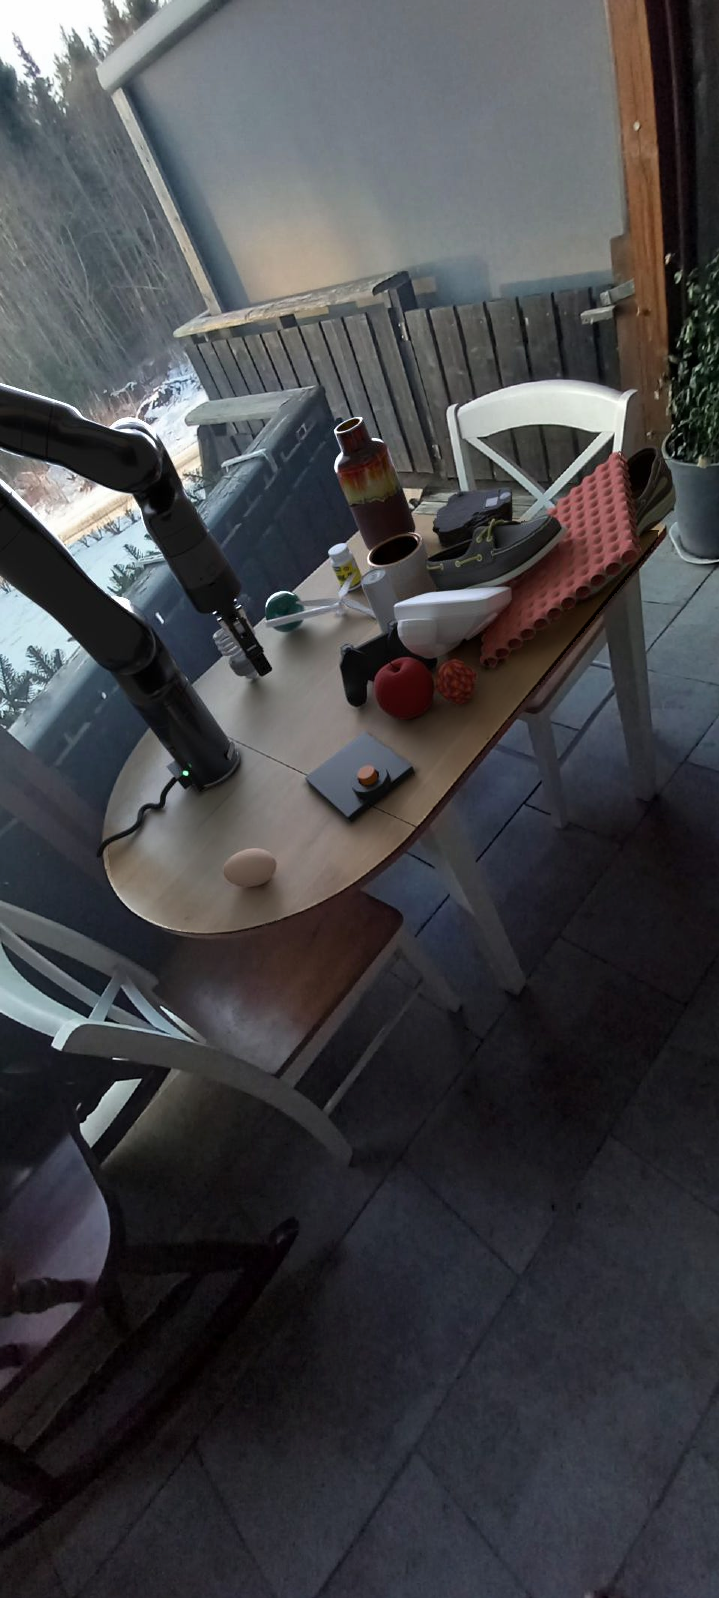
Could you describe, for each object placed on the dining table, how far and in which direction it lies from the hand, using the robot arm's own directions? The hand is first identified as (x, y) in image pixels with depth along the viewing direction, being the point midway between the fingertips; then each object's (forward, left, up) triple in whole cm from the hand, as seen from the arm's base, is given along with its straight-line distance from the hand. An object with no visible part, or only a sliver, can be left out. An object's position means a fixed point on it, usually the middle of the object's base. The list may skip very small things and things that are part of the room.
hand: (258, 661), depth 113 cm
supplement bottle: (+32, +32, -17) cm, 48 cm away
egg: (-17, -23, -14) cm, 32 cm away
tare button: (+1, -21, -14) cm, 25 cm away
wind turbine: (+10, +27, -10) cm, 31 cm away
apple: (+15, -12, -17) cm, 25 cm away
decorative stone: (+21, -18, -17) cm, 32 cm away
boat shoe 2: (+60, -11, -17) cm, 64 cm away
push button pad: (+1, -17, -17) cm, 24 cm away
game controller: (+18, -1, -17) cm, 24 cm away
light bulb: (+3, +25, -17) cm, 30 cm away
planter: (+35, +16, -17) cm, 42 cm away
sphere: (+16, +32, -17) cm, 39 cm away
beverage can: (+26, +8, -17) cm, 32 cm away
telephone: (+31, -7, -6) cm, 32 cm away
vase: (+44, +34, -17) cm, 58 cm away
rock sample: (+57, +22, -17) cm, 63 cm away
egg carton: (+46, -14, -10) cm, 49 cm away
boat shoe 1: (+42, -6, -11) cm, 44 cm away
